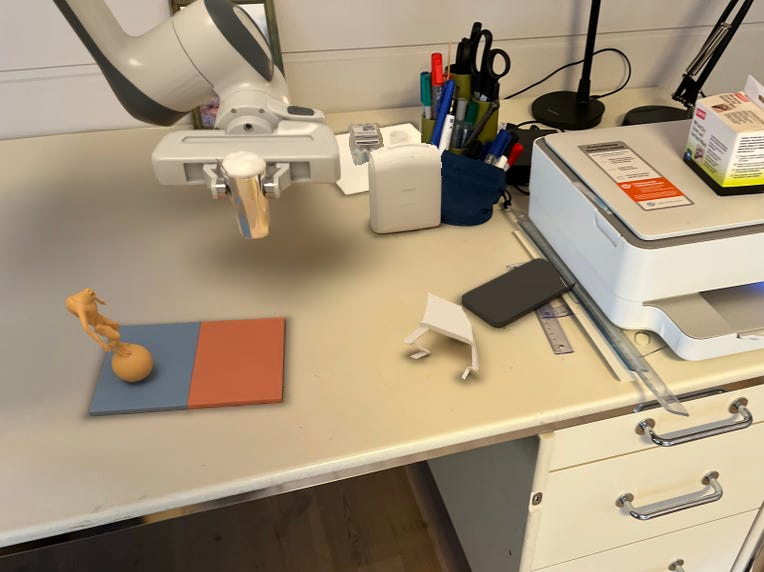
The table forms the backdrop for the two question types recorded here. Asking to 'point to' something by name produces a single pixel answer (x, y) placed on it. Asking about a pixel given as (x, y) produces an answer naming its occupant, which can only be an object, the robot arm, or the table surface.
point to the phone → (515, 292)
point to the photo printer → (404, 187)
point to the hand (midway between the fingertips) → (246, 192)
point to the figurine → (110, 337)
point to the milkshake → (247, 192)
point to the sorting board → (197, 367)
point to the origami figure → (445, 327)
